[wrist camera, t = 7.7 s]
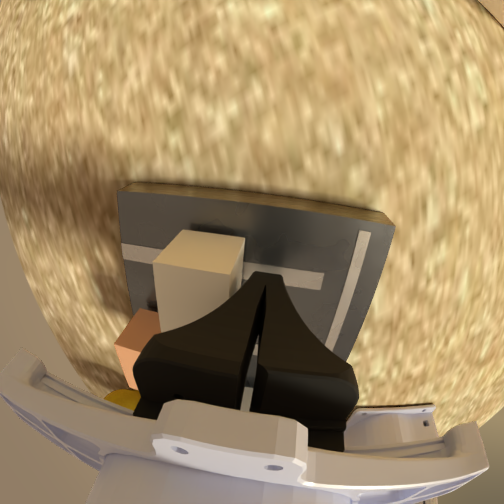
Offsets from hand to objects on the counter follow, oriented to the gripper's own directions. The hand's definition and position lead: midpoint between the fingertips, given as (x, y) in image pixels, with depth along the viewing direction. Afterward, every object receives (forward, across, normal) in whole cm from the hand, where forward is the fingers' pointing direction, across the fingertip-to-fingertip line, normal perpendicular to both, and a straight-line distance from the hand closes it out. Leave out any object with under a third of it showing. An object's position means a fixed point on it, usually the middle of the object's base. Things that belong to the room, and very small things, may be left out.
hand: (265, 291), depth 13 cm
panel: (+4, +1, +6) cm, 7 cm away
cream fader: (+1, +3, 0) cm, 3 cm away
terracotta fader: (+1, +6, +6) cm, 8 cm away
